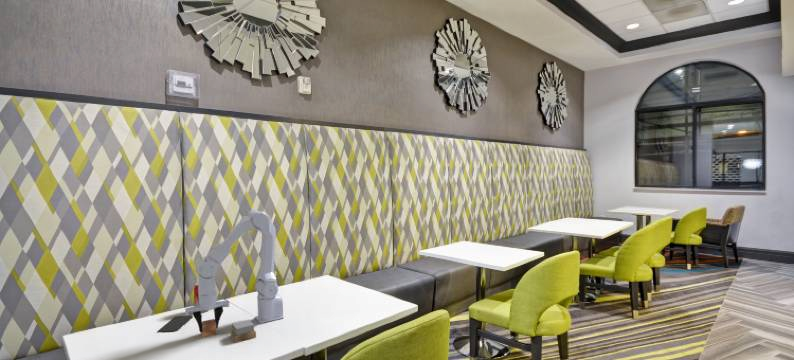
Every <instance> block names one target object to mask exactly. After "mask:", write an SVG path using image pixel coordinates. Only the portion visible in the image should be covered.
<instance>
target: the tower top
mask: <svg viewBox="0 0 794 360" xmlns="http://www.w3.org/2000/svg"><path fill="white" fill-rule="evenodd" d="M231 330H232V331H233V332H234V333H235V334H236V336H239V335H242V334H246V333H250V332H254V330H255V324H254V323H253V322H252V321H251V320H250V319H246V320H242V321H237V322H234V323H231Z"/></svg>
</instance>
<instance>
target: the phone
mask: <svg viewBox="0 0 794 360" xmlns="http://www.w3.org/2000/svg"><path fill="white" fill-rule="evenodd" d="M193 318H194V316H193V315H176V316H174V317H173V318H172V319H170V320H169V321H168V322H167V323H165V324H164V325H163V326H161V328H160V329H158V330H157V333H158V332H162V333H175V332H178V331H180V329H182V328H183V327H184V326H185V325H186V324H187V323H188V322H189V321H191V320H192V319H193ZM190 319H191V320H190ZM183 325H184V326H183ZM182 326H183V327H182ZM181 327H182V328H181Z"/></svg>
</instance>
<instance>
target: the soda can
mask: <svg viewBox="0 0 794 360" xmlns="http://www.w3.org/2000/svg"><path fill="white" fill-rule="evenodd" d="M193 299H194V300H193V301H194V303H193V304H194V306H197V305H199V292H198V282H196V283H194V286H193ZM209 311H210V310H207V311H202V312H201V314H202V313H206V312H209Z"/></svg>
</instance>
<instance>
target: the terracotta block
mask: <svg viewBox="0 0 794 360" xmlns="http://www.w3.org/2000/svg"><path fill="white" fill-rule="evenodd" d="M200 334H201V336H202V338H203V339H204V338H208V337H212V336H217V335H218V333H217V329H216V322H215V318H212V319H207V320H202V332H201V333H200Z"/></svg>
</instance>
